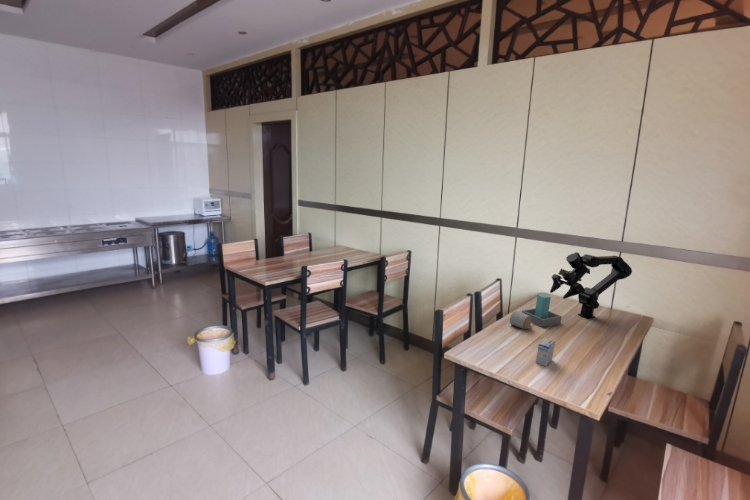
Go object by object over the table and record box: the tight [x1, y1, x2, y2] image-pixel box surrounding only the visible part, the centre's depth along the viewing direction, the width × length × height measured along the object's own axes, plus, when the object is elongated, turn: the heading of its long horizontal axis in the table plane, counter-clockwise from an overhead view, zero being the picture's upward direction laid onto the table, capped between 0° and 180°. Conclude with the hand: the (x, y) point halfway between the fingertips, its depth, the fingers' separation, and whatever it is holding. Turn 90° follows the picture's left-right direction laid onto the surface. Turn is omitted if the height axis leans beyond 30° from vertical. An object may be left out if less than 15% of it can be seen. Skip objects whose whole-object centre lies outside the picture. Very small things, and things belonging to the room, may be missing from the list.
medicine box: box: [535, 337, 556, 367], centre depth 162 cm, size 8×4×9 cm, turn 141°
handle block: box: [535, 293, 552, 319], centre depth 205 cm, size 4×4×13 cm
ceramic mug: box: [509, 310, 532, 330], centre depth 197 cm, size 11×8×8 cm
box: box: [521, 307, 563, 328], centre depth 206 cm, size 14×14×4 cm
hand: (556, 295), depth 205 cm, fingers open, 9 cm apart
